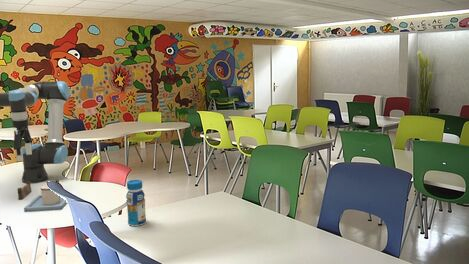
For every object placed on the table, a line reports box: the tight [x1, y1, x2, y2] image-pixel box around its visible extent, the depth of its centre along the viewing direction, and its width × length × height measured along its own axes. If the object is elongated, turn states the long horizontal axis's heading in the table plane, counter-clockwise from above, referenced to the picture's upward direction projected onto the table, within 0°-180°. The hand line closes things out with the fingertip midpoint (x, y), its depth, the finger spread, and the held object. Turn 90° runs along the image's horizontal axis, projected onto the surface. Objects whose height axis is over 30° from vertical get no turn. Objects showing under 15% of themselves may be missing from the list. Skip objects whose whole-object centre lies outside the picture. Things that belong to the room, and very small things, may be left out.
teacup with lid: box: [40, 180, 60, 205], centre depth 211 cm, size 12×9×12 cm
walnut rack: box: [16, 179, 60, 201], centre depth 226 cm, size 14×18×6 cm
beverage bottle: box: [125, 179, 147, 227], centre depth 181 cm, size 8×8×20 cm
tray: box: [23, 194, 68, 213], centre depth 211 cm, size 20×18×2 cm
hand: (24, 157), depth 218 cm, fingers open, 13 cm apart
